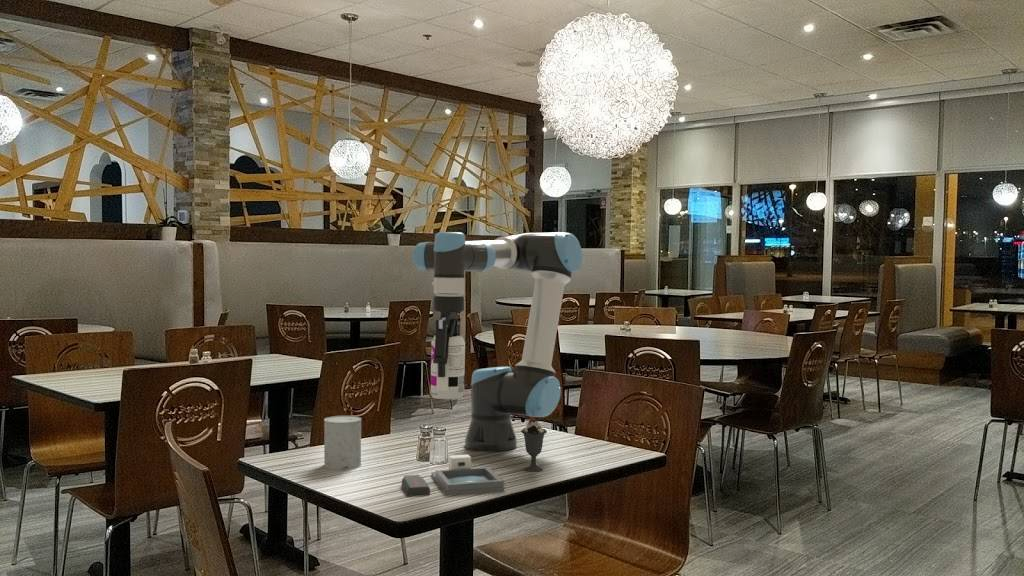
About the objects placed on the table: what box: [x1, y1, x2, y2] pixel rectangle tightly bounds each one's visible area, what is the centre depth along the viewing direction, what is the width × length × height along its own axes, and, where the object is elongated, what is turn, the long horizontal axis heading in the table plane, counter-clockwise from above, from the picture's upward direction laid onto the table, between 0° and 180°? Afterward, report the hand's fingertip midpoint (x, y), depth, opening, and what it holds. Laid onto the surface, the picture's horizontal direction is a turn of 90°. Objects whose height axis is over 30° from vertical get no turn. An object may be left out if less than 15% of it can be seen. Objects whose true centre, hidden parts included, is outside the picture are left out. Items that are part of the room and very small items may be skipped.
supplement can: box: [430, 335, 466, 400], centre depth 200 cm, size 8×8×15 cm
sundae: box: [520, 411, 548, 473], centre depth 211 cm, size 7×7×15 cm
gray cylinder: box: [323, 415, 362, 471], centre depth 213 cm, size 10×10×12 cm
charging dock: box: [431, 454, 505, 496], centre depth 197 cm, size 14×18×5 cm
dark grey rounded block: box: [401, 474, 431, 497], centre depth 192 cm, size 5×12×3 cm, turn 16°
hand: (447, 387), depth 200 cm, fingers closed on supplement can, 8 cm apart
